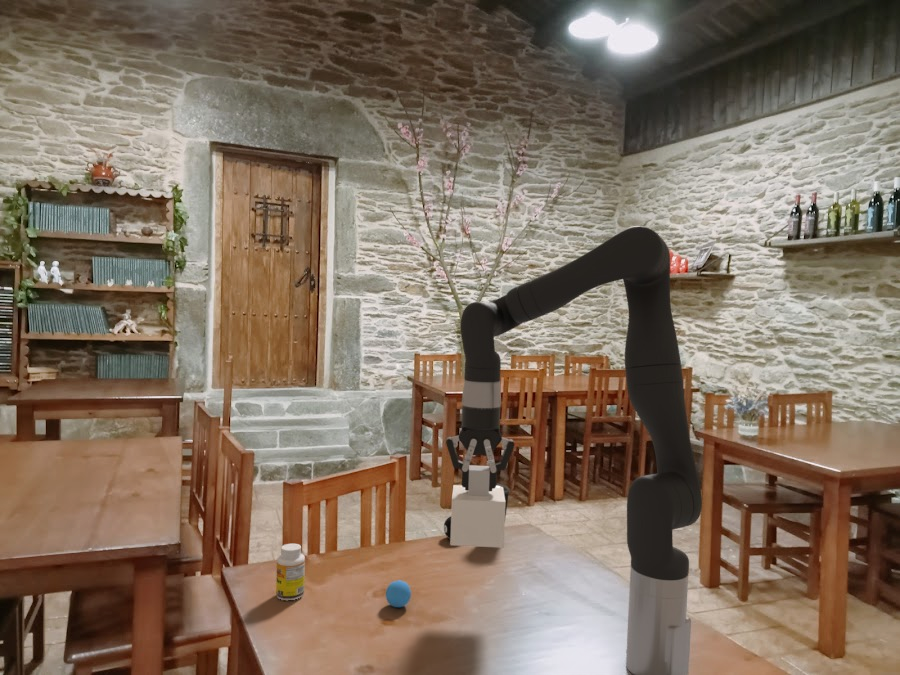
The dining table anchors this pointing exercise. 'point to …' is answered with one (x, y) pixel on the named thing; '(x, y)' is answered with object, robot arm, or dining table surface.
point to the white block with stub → (478, 512)
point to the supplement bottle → (290, 572)
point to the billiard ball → (447, 527)
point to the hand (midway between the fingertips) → (478, 489)
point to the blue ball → (398, 593)
